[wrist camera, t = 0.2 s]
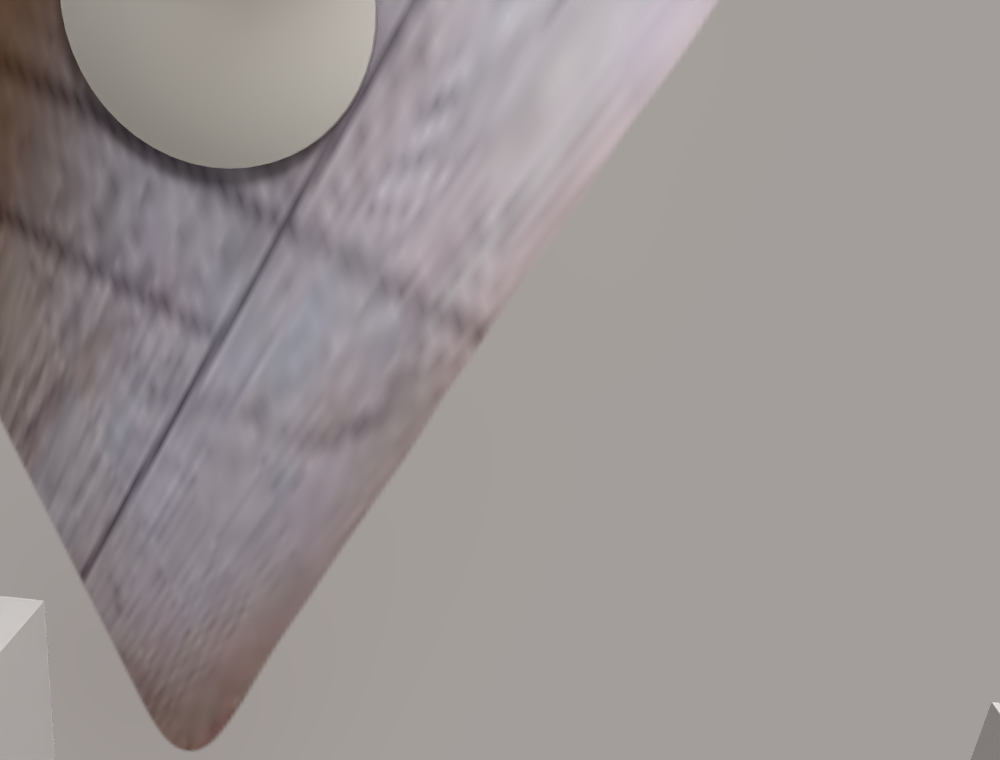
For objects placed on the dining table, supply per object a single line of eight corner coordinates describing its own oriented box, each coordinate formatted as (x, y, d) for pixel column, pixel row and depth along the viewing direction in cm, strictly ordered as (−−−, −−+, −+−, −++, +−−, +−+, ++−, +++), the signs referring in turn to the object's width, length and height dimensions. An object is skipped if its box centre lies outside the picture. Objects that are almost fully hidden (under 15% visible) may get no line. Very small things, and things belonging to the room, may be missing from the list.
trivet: (70, -187, 34) (57, -195, 33) (392, -142, 34) (387, -149, 33) (73, 145, 38) (61, 146, 37) (363, 185, 38) (359, 188, 37)
